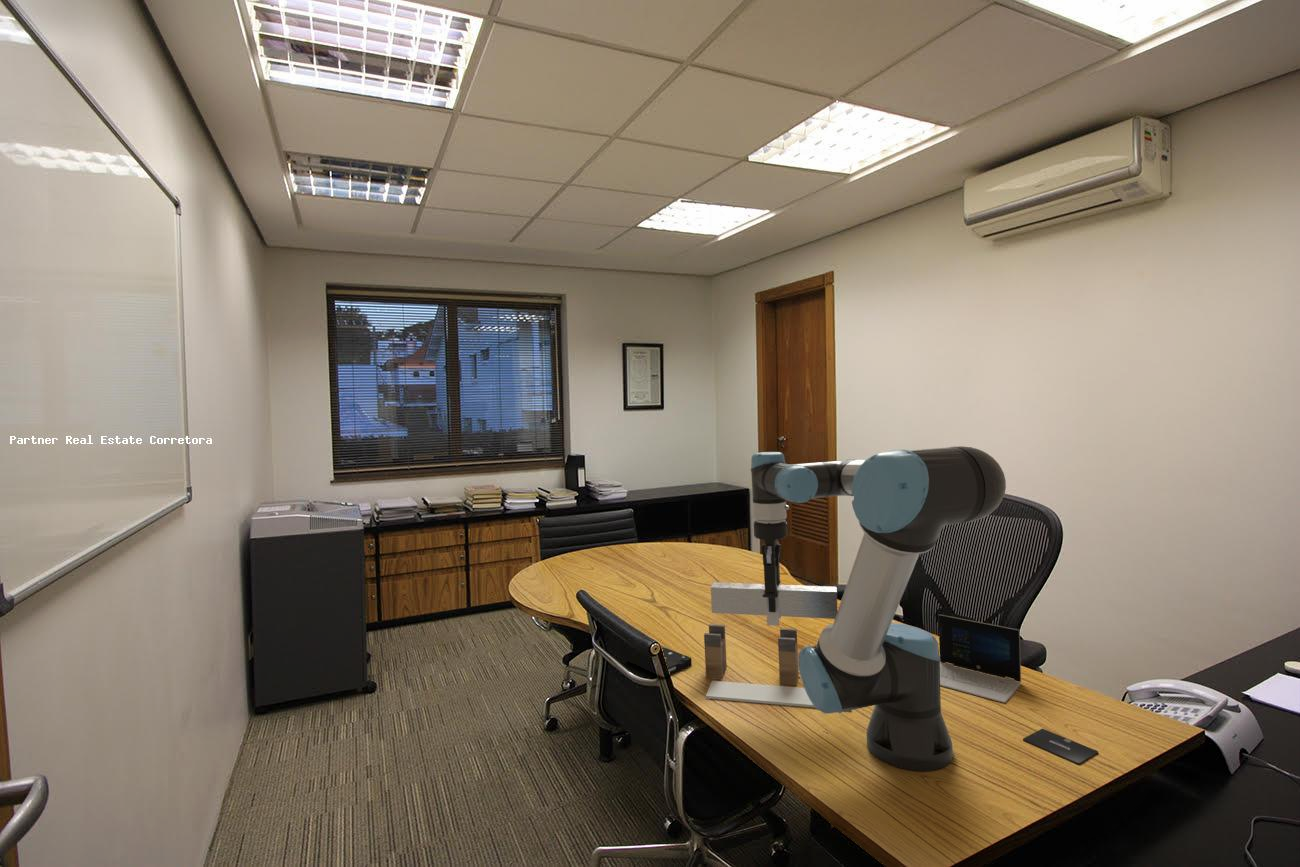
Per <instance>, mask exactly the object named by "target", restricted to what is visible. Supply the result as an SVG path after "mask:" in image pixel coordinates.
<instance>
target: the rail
mask: <svg viewBox="0 0 1300 867" xmlns="http://www.w3.org/2000/svg"><path fill="white" fill-rule="evenodd" d="M837 589H838V588H837V586H827V585H823V586H822V585H821V586H820V585H798V584H795V585H794V584H779V585H777V594H778V600H779V616H781V617H789V618H790V617H791V618H792V617H793V618H808V619H809V618H810V619H829V620H835V618H836V615H837V612H838V595H837V594H838V590H837ZM763 594H765V583H743V582H742V583H741V582H739V583H737V582H715V581H714V582H713V583H712V584H711V586H710V600H711V602H710V603H711V613H712V614H729V615H730V614H731V615H745V616H746V615H747V616H748V615H750V616H751V615H752V616H766V617H767V612H766V597H763Z"/></svg>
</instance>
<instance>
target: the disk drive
mask: <svg viewBox="0 0 1300 867" xmlns="http://www.w3.org/2000/svg"><path fill="white" fill-rule="evenodd" d="M660 646H661V647H662V649H663V653H664V657H665V660H666V664H667V667H668V670H669V672H670V674H671V675H670V676H672V675H674V674H676V673H679V672H681V671H683V670H685V669H688V668H691V667H692V666H693V665H692V664H693V663H692V662H693V661H692V660H693V659H692V657H691V656H689V655H685V654H684V653H680V652H677V651H675V650H672V649H671V648H670V649H669V648H668V647H664V646H662V645H660Z"/></svg>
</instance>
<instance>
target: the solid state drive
mask: <svg viewBox="0 0 1300 867" xmlns="http://www.w3.org/2000/svg"><path fill="white" fill-rule="evenodd" d="M1022 741H1023V742H1025V743H1027V744H1029V745H1032V746H1033V747H1036V748H1039V749H1041V750H1043V751H1045V752H1048V753H1050V754H1052V755H1054V756H1057V757H1059V758H1062V759H1064V760H1066V761H1068V762H1071V763H1073V764H1075V765H1078V766H1079V765H1082V764H1084V763H1085V762H1087V761H1088V760H1090V759H1092V758H1094V757H1095V756H1096V755H1098V754H1099V751H1098V750H1096V749H1093V748H1091V747H1089V746H1087V745H1084V744H1082V743H1079V742H1076V741H1074V740H1072V739H1069V738H1066V737H1064V736H1062V735H1060V734H1057V733H1054V732H1052V731H1050V730H1047V729H1045V728H1041V729H1038V730H1036V731H1035V732H1032V733H1031V734H1029V735H1027V736H1025V737H1023V738H1022Z"/></svg>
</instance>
